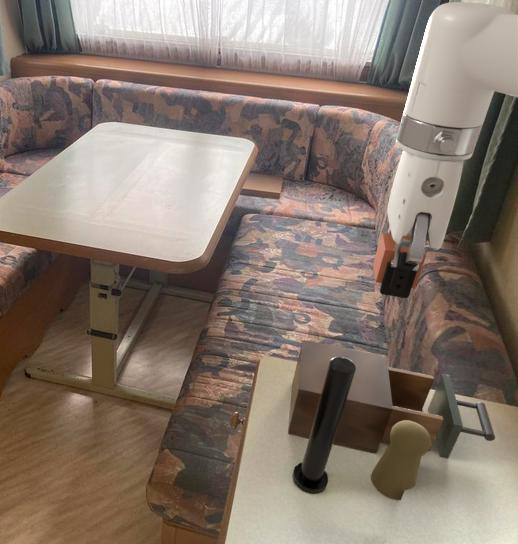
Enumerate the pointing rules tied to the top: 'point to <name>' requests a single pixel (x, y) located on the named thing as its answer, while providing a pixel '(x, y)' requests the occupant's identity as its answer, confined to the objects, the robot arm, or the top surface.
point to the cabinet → (360, 401)
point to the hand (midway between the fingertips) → (391, 282)
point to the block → (390, 257)
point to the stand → (325, 427)
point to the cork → (401, 459)
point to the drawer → (432, 409)
